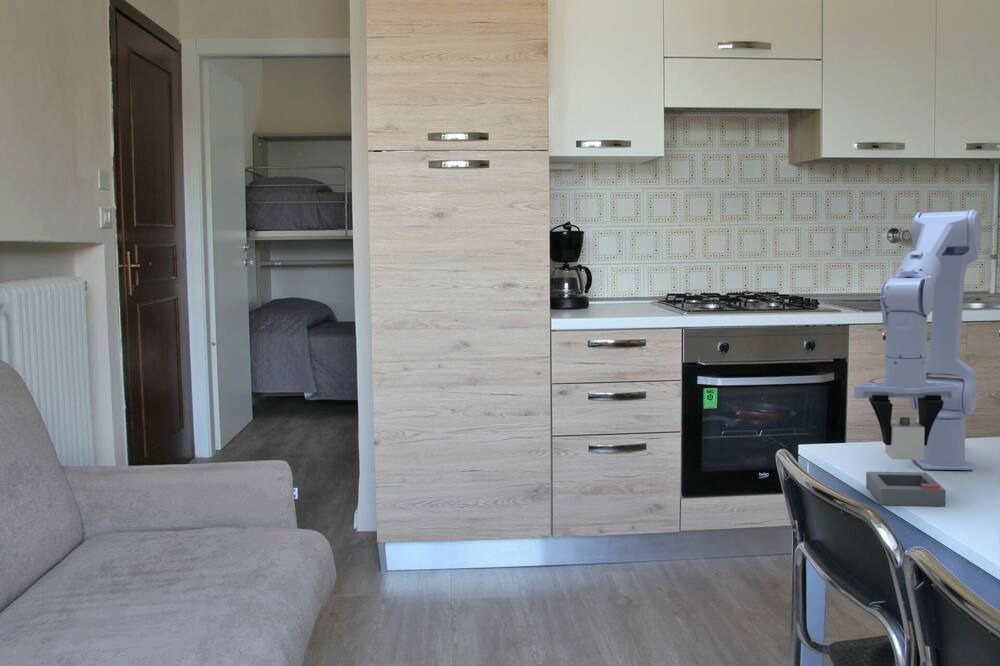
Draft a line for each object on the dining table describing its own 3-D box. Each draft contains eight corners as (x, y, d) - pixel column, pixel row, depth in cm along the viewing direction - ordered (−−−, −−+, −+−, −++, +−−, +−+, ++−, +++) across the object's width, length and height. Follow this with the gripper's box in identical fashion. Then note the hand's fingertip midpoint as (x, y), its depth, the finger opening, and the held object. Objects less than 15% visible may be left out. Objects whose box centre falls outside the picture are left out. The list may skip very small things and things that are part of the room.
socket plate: (866, 486, 141) (866, 468, 140) (926, 487, 139) (926, 469, 139) (880, 504, 131) (880, 485, 130) (945, 506, 129) (945, 486, 129)
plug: (885, 452, 137) (885, 414, 136) (915, 452, 136) (916, 414, 136) (892, 459, 133) (892, 420, 132) (923, 459, 132) (924, 420, 131)
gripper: (861, 360, 130) (860, 449, 131) (966, 359, 127) (964, 450, 129) (851, 354, 137) (850, 439, 138) (950, 353, 134) (949, 440, 136)
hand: (904, 443), depth 134 cm, fingers closed on plug, 4 cm apart
